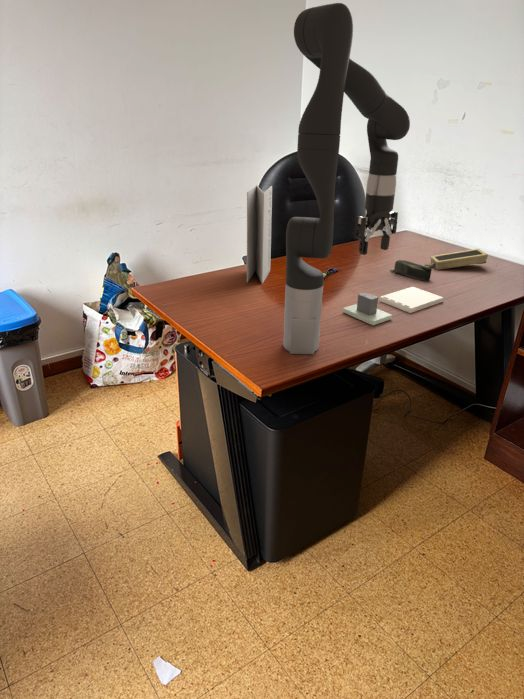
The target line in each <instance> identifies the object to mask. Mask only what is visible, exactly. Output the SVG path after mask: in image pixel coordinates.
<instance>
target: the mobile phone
mask: <svg viewBox="0 0 524 699" xmlns="http://www.w3.org/2000/svg"><path fill="white" fill-rule="evenodd" d="M432 269H433V268H432V267H426V266H424V265H422V264H419V263H415V262H412V261H410V260H403V259H398V260H396V261H395V262H394V269H389V271H390V272H392V273H395V274H399V275H402V276H406V277H410V278H413V279H416V280H419V281H425V282H427V281H430V280H431V274H432Z"/></svg>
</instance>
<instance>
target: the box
mask: <svg viewBox="0 0 524 699" xmlns="http://www.w3.org/2000/svg"><path fill="white" fill-rule="evenodd" d="M488 255H489V254H487V253H486V252H485V251H483V250H482V249H480V248H474V249H468V250H463V251H456V252H455V251H454V252H449V253H444V254H438V255H431V256H429V257H430V263H429V264H424V265H423V266H426V267H429V268H432V267H433V268H435V269H436V270H437V271H438V270H439V271H440V270H446V269H451V268H459V267H462V268H465V267H467V266H470V265H482V264H486V263H487V259H488V257H489V256H488Z"/></svg>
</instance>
